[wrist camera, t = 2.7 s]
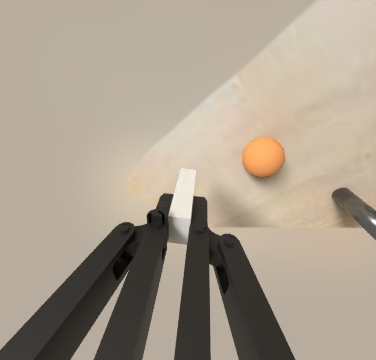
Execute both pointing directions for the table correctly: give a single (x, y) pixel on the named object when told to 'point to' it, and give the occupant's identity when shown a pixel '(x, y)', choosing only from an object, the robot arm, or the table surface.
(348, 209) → the post
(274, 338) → the robot arm
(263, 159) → the ball
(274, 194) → the table surface
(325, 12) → the table surface
